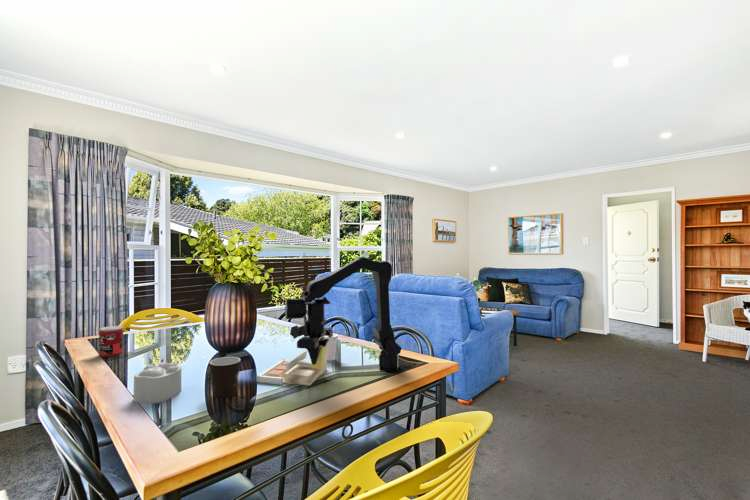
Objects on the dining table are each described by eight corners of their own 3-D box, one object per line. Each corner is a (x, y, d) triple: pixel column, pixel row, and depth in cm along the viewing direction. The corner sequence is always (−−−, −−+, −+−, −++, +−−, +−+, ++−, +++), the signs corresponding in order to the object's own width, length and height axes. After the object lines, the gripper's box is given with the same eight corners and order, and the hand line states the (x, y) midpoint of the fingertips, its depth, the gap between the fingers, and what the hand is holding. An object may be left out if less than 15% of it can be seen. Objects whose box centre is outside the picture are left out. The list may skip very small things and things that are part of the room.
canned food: (94, 356, 147) (94, 328, 147) (113, 350, 155) (113, 325, 155) (108, 357, 145) (108, 330, 145) (127, 352, 153) (127, 326, 153)
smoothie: (339, 357, 148) (339, 323, 148) (336, 362, 141) (336, 326, 142) (323, 357, 148) (324, 322, 149) (319, 361, 142) (320, 325, 142)
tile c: (273, 369, 125) (273, 375, 125) (267, 373, 121) (267, 379, 121) (283, 370, 124) (283, 376, 124) (278, 374, 120) (278, 380, 120)
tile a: (286, 360, 135) (286, 366, 135) (281, 364, 131) (281, 369, 131) (296, 361, 134) (296, 367, 134) (291, 364, 130) (291, 370, 130)
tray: (305, 366, 136) (305, 361, 136) (281, 384, 117) (281, 378, 117) (282, 364, 138) (283, 359, 138) (256, 382, 119) (256, 376, 119)
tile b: (279, 365, 130) (279, 370, 130) (274, 368, 126) (274, 374, 126) (290, 365, 129) (290, 371, 129) (285, 369, 125) (285, 375, 125)
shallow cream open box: (326, 369, 133) (326, 361, 133) (309, 385, 117) (309, 376, 117) (303, 367, 134) (303, 359, 134) (283, 383, 119) (284, 373, 119)
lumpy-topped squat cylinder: (127, 402, 103) (128, 371, 103) (160, 385, 116) (160, 358, 116) (161, 404, 102) (161, 373, 102) (190, 387, 115) (190, 359, 115)
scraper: (330, 361, 132) (331, 342, 132) (314, 375, 117) (316, 353, 117) (304, 357, 134) (305, 338, 134) (285, 370, 119) (287, 349, 119)
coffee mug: (229, 401, 104) (229, 366, 104) (202, 398, 106) (203, 364, 106) (251, 386, 116) (251, 355, 116) (226, 384, 117) (227, 353, 117)
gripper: (304, 312, 136) (304, 353, 136) (281, 321, 118) (281, 369, 118) (333, 313, 134) (333, 355, 134) (314, 322, 115) (314, 372, 115)
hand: (316, 362), depth 125 cm, fingers closed on scraper, 3 cm apart
